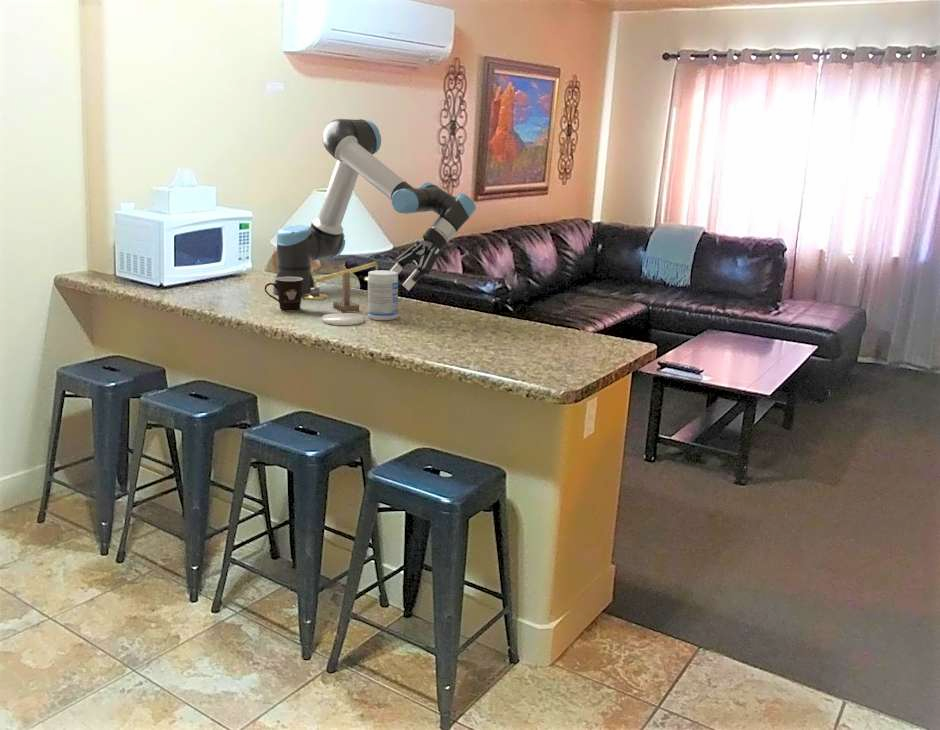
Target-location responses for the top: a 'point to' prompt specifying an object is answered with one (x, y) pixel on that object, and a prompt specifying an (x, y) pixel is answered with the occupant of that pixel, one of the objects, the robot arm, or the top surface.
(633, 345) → the top surface
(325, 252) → the robot arm
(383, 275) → the supplement tub
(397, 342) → the top surface
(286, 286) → the coffee mug
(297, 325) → the top surface
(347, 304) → the balance
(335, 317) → the plate
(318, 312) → the top surface
